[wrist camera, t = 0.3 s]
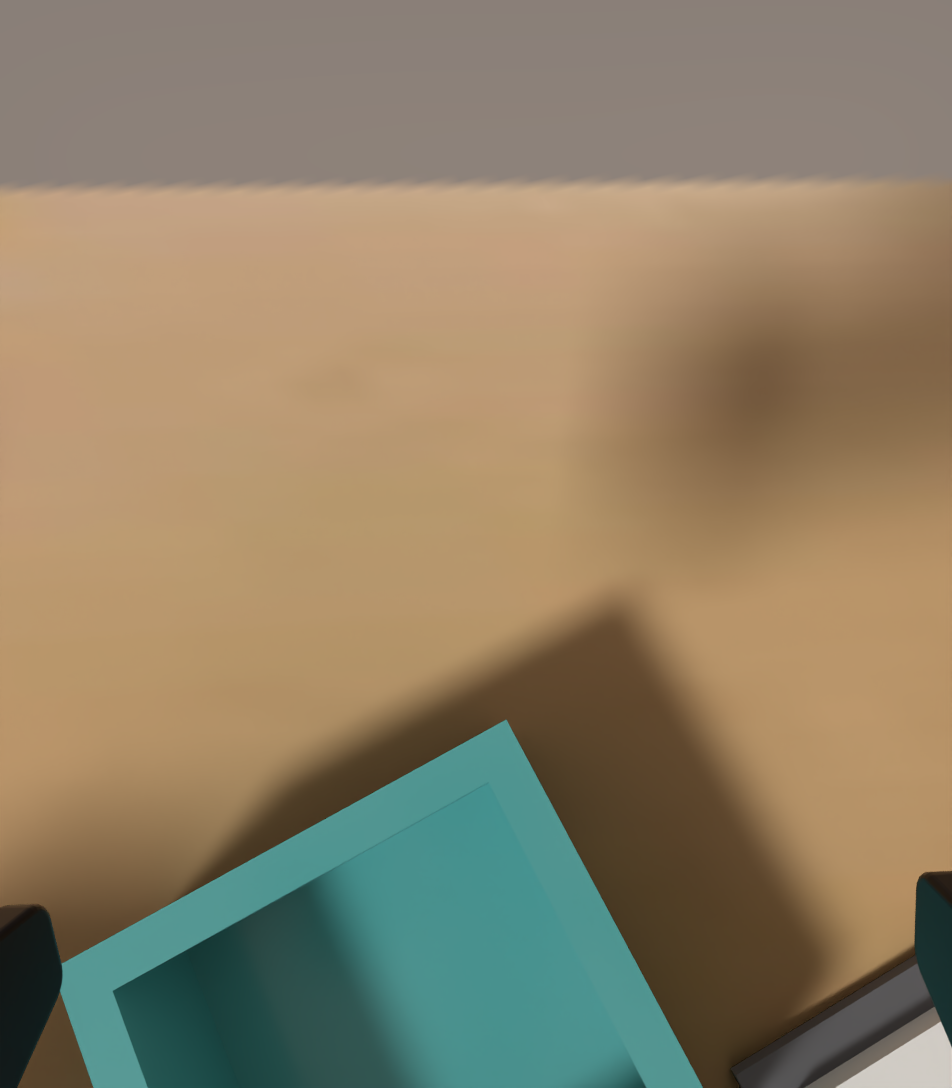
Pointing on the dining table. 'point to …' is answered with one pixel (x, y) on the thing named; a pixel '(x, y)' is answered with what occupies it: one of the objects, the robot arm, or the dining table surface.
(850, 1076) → the lid
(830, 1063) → the mat
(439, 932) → the dish
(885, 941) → the dining table surface
